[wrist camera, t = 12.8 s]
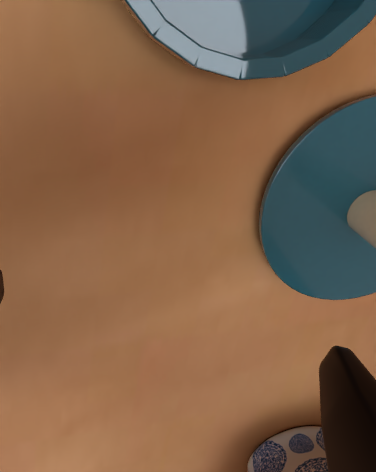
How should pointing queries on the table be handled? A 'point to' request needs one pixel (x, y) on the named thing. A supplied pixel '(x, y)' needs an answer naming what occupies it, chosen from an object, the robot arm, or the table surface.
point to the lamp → (291, 452)
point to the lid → (326, 207)
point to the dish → (251, 32)
